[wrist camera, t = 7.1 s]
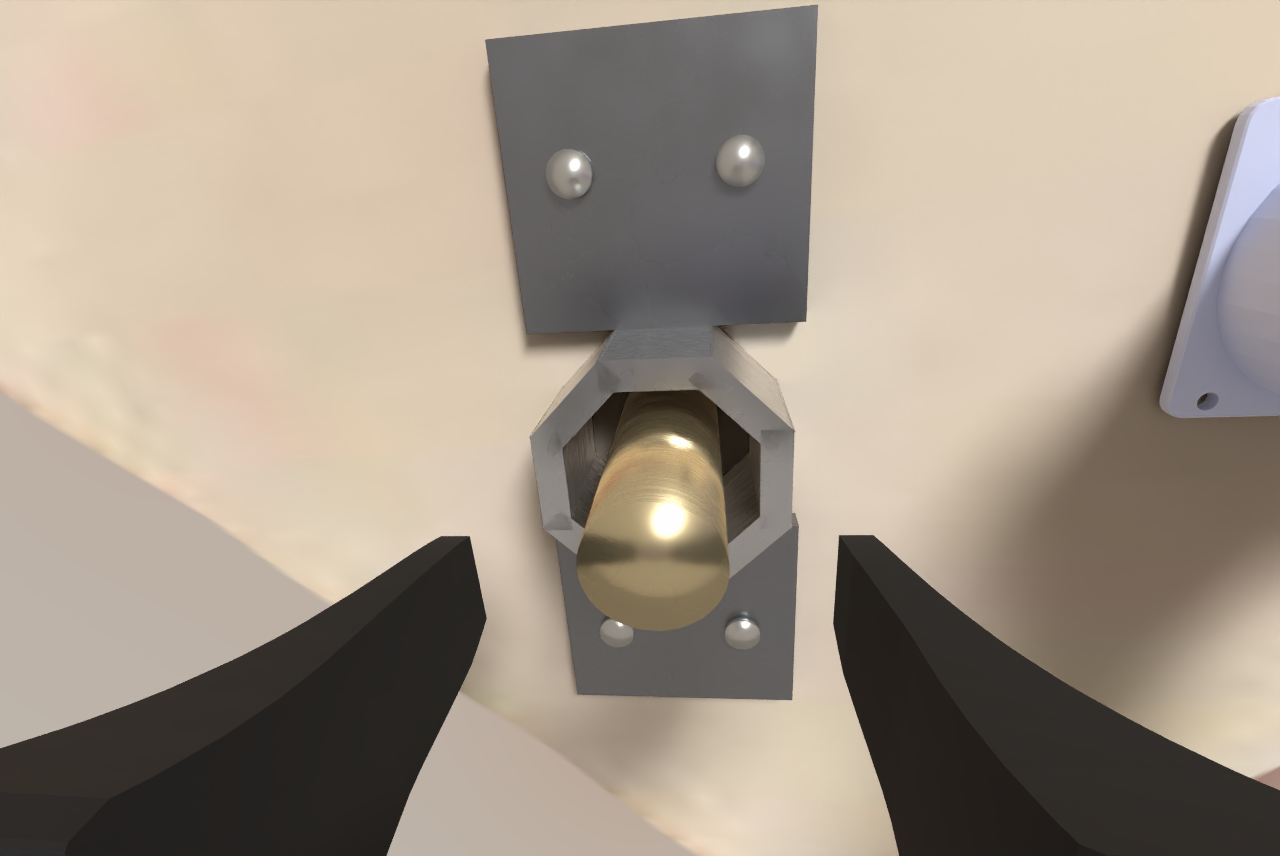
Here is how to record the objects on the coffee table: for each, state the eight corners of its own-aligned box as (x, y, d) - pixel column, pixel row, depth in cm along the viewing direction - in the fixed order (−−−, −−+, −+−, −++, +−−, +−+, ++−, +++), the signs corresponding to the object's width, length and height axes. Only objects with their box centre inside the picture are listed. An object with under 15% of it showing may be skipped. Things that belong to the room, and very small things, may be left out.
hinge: (495, 46, 16) (430, 5, 12) (811, 13, 15) (849, -43, 11) (581, 678, 24) (559, 770, 20) (789, 683, 23) (805, 780, 19)
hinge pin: (721, 375, 18) (736, 508, 11) (714, 463, 19) (723, 636, 12) (623, 370, 19) (574, 497, 11) (622, 457, 20) (577, 624, 12)
